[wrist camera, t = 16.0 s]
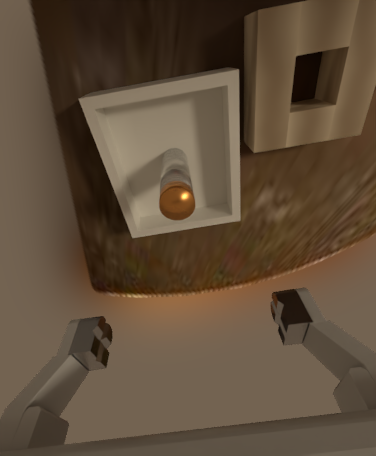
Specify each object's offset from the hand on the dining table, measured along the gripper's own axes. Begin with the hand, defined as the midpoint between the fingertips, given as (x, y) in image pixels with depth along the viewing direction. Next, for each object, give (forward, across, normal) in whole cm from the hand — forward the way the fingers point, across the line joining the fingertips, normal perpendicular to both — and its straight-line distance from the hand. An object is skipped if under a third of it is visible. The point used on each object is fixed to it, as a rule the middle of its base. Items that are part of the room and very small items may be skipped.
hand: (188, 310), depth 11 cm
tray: (+21, 0, 0) cm, 21 cm away
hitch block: (+21, -14, -6) cm, 26 cm away
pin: (+20, 0, 0) cm, 20 cm away
